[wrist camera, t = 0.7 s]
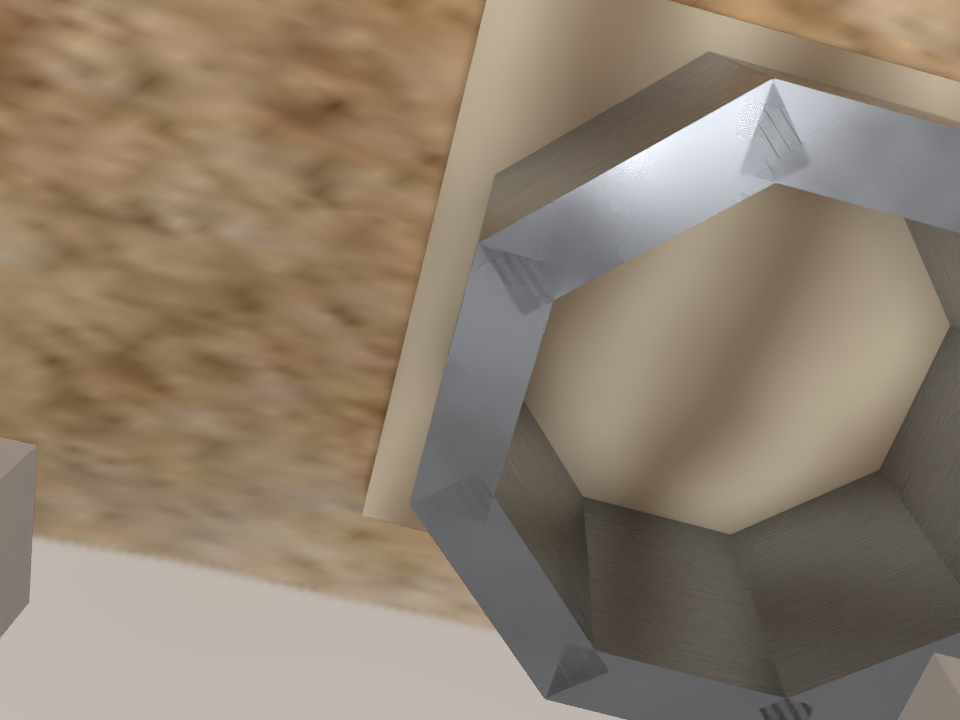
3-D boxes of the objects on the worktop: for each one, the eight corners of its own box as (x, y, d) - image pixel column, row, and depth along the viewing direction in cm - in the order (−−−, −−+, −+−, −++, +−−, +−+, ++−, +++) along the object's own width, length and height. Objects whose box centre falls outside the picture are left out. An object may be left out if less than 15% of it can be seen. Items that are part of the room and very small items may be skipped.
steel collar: (408, 502, 33) (369, 655, 25) (540, 4, 26) (539, 12, 19) (864, 619, 33) (957, 801, 26) (1104, 161, 27) (1319, 230, 19)
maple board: (369, 493, 34) (361, 515, 33) (500, -47, 27) (497, -48, 26) (879, 624, 35) (893, 650, 34) (1139, 133, 28) (1171, 141, 26)
